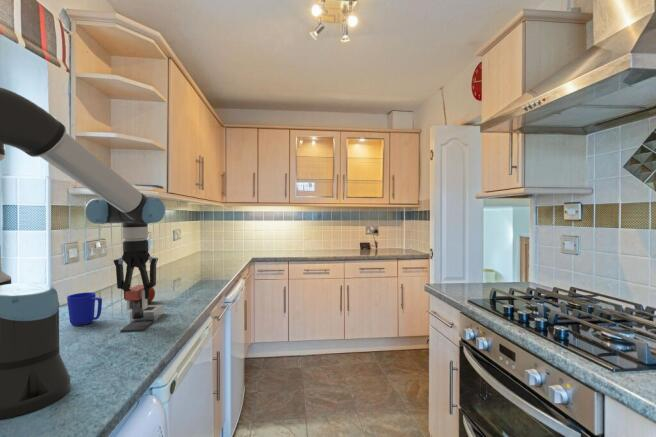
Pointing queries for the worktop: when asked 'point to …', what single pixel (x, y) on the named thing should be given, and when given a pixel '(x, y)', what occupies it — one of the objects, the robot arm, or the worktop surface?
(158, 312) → the block
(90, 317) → the mug
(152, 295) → the fruit
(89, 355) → the worktop surface
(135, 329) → the mat
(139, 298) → the key
